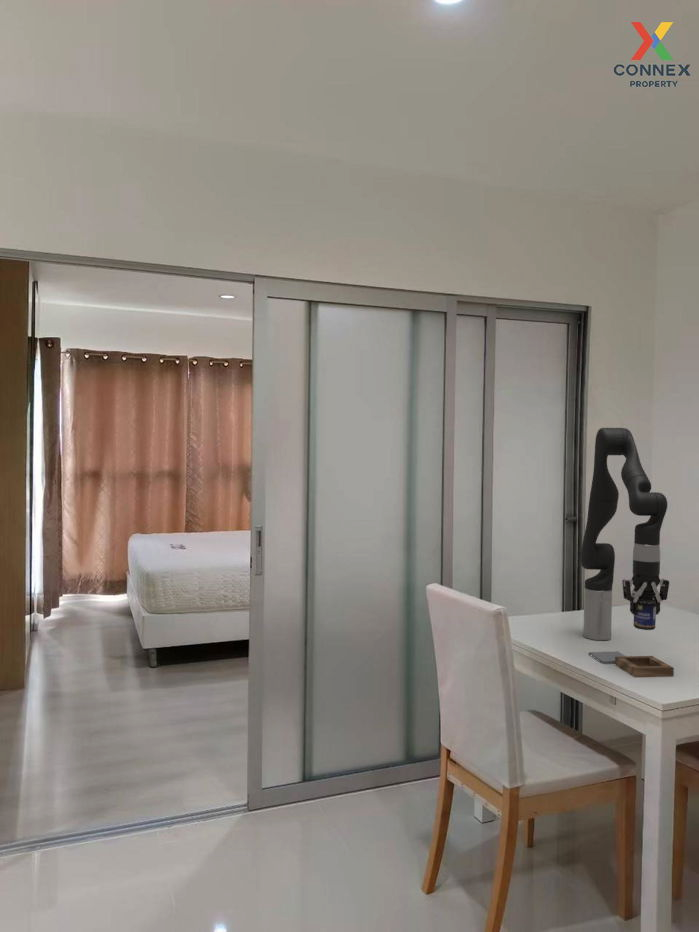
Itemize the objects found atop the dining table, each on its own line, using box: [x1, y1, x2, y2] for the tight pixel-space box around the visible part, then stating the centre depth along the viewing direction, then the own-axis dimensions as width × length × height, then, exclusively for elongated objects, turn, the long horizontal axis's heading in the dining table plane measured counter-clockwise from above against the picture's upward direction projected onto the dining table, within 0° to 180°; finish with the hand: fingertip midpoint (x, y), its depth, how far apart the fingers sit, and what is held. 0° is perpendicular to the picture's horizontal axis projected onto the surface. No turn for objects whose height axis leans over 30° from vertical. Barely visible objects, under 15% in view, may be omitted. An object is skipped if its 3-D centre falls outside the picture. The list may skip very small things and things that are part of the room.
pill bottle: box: [633, 591, 657, 631], centre depth 216 cm, size 6×6×11 cm
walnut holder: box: [614, 655, 675, 678], centre depth 216 cm, size 12×12×2 cm
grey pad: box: [588, 651, 626, 664], centre depth 228 cm, size 10×10×1 cm
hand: (644, 613), depth 216 cm, fingers closed on pill bottle, 6 cm apart
